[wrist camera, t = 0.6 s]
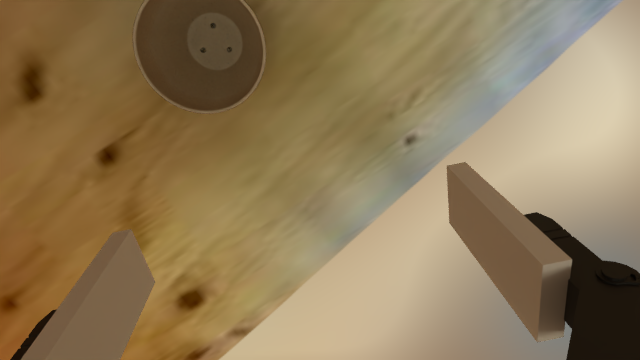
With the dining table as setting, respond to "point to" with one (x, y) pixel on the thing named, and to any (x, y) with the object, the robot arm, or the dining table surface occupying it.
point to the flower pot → (200, 52)
